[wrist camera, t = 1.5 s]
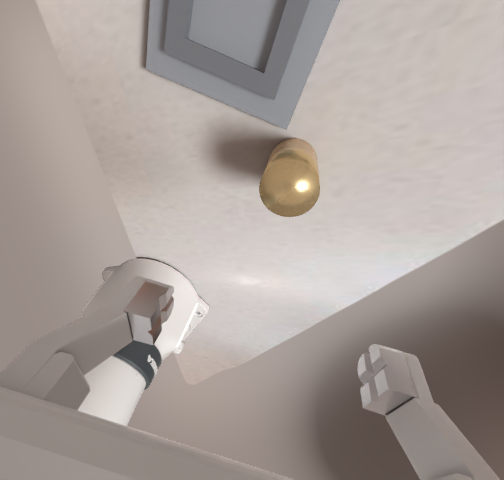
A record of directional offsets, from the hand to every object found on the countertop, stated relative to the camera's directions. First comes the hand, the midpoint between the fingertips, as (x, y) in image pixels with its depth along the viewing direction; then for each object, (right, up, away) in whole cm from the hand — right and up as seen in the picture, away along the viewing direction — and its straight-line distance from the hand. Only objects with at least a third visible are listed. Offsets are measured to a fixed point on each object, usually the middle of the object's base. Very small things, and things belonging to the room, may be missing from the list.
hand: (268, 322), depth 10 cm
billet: (+4, +11, +16) cm, 20 cm away
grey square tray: (-1, +22, +10) cm, 24 cm away
